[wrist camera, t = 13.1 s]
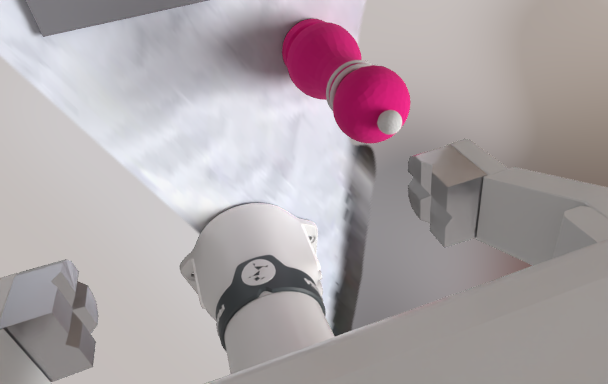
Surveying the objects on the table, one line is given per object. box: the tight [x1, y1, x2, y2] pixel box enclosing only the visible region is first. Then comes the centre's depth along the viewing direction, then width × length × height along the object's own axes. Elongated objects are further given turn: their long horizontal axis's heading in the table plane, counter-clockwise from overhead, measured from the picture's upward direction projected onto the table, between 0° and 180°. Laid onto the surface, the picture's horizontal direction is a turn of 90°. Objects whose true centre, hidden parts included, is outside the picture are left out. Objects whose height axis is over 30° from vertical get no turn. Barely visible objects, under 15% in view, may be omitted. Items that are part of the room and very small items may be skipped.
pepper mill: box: [282, 19, 410, 143], centre depth 39 cm, size 7×7×20 cm
